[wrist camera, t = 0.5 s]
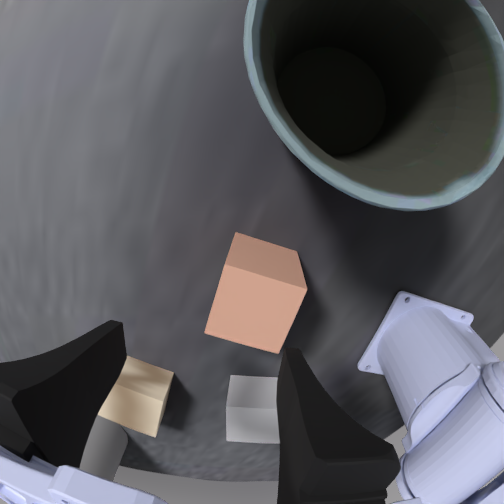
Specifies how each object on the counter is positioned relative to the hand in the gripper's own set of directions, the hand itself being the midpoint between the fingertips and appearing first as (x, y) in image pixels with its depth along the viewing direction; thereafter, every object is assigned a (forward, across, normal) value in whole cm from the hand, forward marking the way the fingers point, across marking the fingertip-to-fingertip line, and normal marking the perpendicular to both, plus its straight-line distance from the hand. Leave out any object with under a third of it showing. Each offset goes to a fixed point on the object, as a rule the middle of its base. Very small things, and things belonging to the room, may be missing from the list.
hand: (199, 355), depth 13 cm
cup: (+10, +15, +24) cm, 30 cm away
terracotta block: (+10, -2, 0) cm, 11 cm away
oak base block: (+10, +8, +13) cm, 19 cm away
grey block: (+10, -4, +13) cm, 17 cm away
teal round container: (+10, -6, -13) cm, 17 cm away
